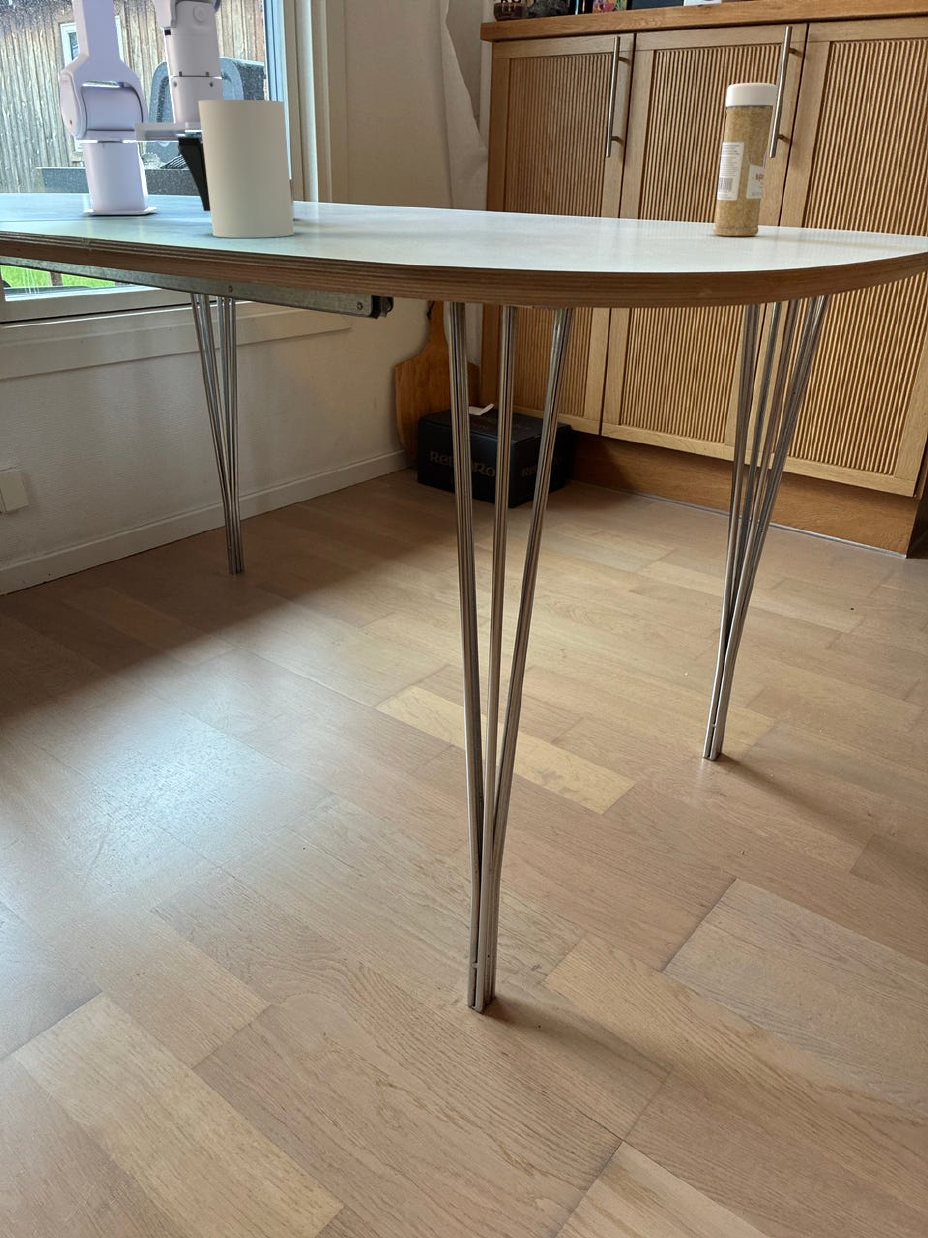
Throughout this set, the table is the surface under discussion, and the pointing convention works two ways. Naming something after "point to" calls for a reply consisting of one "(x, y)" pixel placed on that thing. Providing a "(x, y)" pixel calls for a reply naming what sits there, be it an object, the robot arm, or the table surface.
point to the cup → (247, 168)
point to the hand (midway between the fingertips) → (210, 210)
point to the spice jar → (743, 158)
